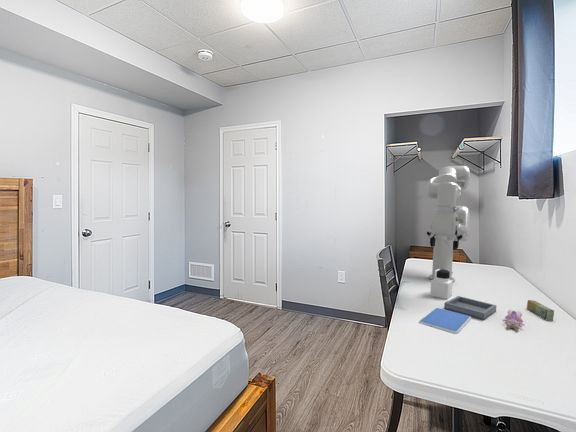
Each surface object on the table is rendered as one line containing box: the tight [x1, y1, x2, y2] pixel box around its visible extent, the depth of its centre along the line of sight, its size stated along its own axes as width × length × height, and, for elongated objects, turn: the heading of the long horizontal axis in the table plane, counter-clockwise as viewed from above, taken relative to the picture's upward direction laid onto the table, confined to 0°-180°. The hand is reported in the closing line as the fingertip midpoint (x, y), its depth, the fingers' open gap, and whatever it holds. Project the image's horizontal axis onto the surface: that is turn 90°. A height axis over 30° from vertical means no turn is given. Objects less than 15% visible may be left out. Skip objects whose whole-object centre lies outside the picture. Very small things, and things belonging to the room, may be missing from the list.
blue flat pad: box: [418, 307, 472, 335], centre depth 109 cm, size 19×13×1 cm, turn 136°
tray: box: [443, 295, 498, 321], centre depth 119 cm, size 14×14×2 cm
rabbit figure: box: [501, 309, 525, 332], centre depth 106 cm, size 6×6×15 cm
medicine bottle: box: [430, 269, 453, 300], centre depth 136 cm, size 7×7×12 cm
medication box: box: [526, 299, 555, 321], centre depth 117 cm, size 12×3×4 cm, turn 170°
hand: (443, 248), depth 135 cm, fingers open, 9 cm apart
